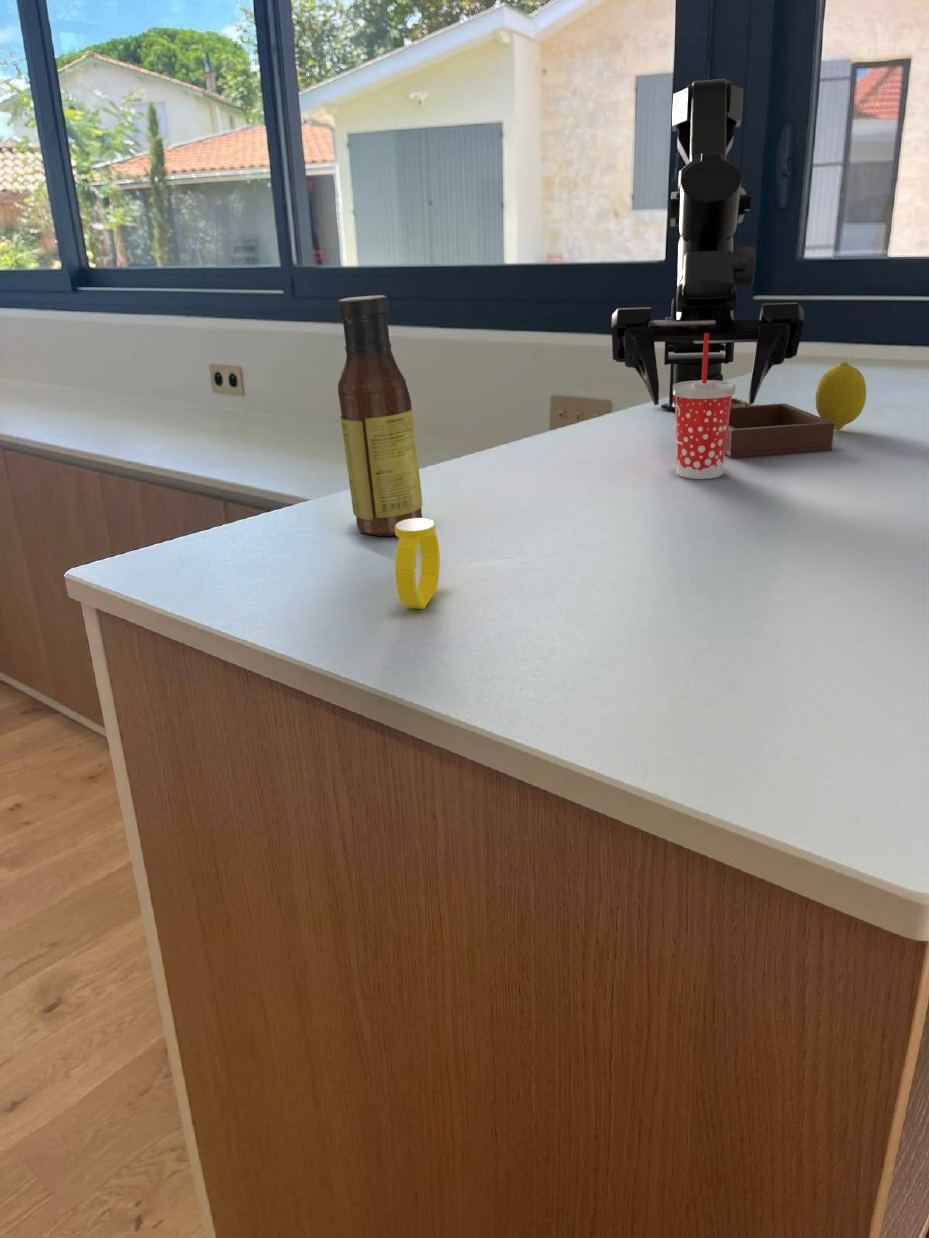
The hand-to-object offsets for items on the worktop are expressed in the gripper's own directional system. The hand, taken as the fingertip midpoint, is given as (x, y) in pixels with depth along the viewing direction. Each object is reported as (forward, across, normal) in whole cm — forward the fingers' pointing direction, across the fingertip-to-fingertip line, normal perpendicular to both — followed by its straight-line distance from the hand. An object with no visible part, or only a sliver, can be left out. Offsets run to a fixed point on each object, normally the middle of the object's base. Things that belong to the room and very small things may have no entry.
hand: (703, 401), depth 94 cm
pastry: (-15, +4, +26) cm, 30 cm away
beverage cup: (+5, 0, +6) cm, 8 cm away
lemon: (-10, +17, +21) cm, 28 cm away
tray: (-6, +7, +16) cm, 19 cm away
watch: (+31, -21, -20) cm, 42 cm away
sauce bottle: (+19, -28, -8) cm, 35 cm away
